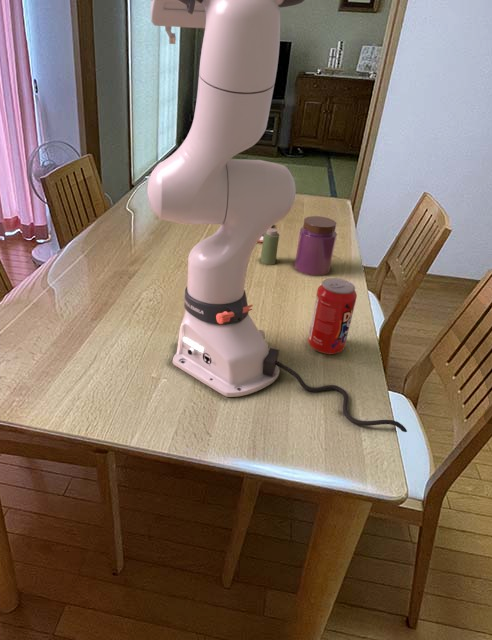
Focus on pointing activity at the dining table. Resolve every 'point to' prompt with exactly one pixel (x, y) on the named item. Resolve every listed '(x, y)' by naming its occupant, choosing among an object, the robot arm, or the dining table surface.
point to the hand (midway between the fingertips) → (191, 43)
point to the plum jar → (316, 245)
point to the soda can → (332, 315)
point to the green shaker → (269, 246)
